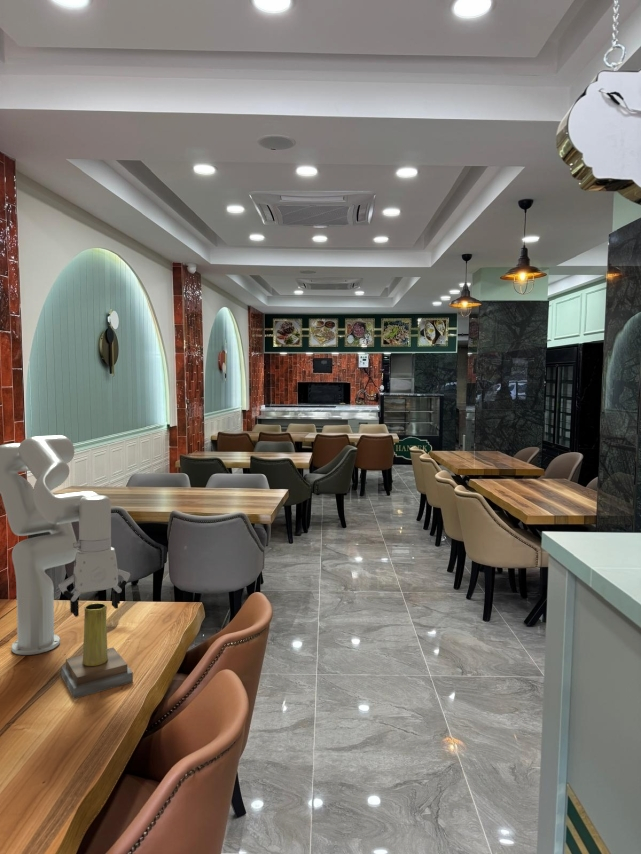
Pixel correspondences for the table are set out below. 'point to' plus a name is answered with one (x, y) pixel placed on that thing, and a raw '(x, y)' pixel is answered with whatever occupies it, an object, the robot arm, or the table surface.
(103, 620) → the vase
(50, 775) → the table surface
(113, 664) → the stand
